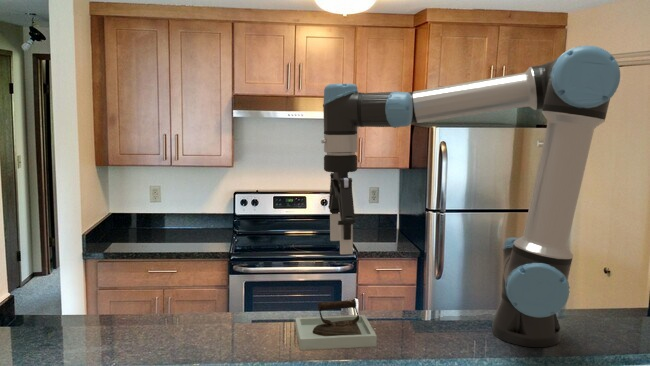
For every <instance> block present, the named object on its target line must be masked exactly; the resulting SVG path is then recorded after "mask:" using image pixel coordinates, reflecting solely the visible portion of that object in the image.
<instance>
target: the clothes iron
mask: <svg viewBox="0 0 650 366" xmlns="http://www.w3.org/2000/svg"><path fill="white" fill-rule="evenodd" d="M317 303H318V304H317V305H318V312H319V317H321V319H322V322H323V323H325V324H321V325H317V326H316V327H315V328H314V329H313V333H314V334H317V335H321V336H341V335H362V334H361V331H360V329H359V327H358V325H357V323H356V322H357V321H358V320H359V315H360V314H359V312H358V309H357V301H356V298H353V299H350V300H347V299H346V300H338V301H337V300H336V301H325V302H324V301H323V302H321V301H318V302H317ZM340 309H341V310H342V309H355V311H356V315H357V317H356V318H355V319H353V320H344V321H336V322H331V321H330V320H325V319H323V318H322V317H323V316H322V315H323V314H322V313H321V312H322V311H328V310H340Z"/></svg>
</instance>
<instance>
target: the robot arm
mask: <svg viewBox="0 0 650 366" xmlns="http://www.w3.org/2000/svg"><path fill="white" fill-rule="evenodd" d="M620 82H621V69H620V66H619V63H618V61H617V60H616V58H615V57H614V56H613V54H612V53H611V52H609V51H608V50H606V49H604V48H602V47H599V46H595V45H581V46H580V45H579V46H574V47H571V48H570V49H567V50H566V51H565V52H563V53H562V54H561V55H559V56H558V58H557V59H554V60H552V61H548V62H547V63H543V64H540V65H534V66H529V67H528V68H527V69H526V71H524V72H521V73H516V74H515V73H514V74H509V75H502V76H498V77H497V76H496V77H491V78H486V79H479V80H473V81H468V82H462V83H456V84H450V85H443V86H440V87H439V86H438V87H433V88H432V87H431V88H426V89H421V90H415V91H409V92H407V91H394V90H393V91H384V92H383V91H382V92H381V91H380V92H379V91H378V92H360V91H359V90H358V86H357V84H355V83H330V84H327V85H326V86H325V87H324V89H323V104H322V107H323V108H322V109H323V110H322V111H323V138H322V139H321V141H320V142H321V144H323V147H324V148H323V152H325V153H326V154H324V156H323V171H324V172H326V173H330V174H329V176H330V184H329V185H330V186H329V198H328V210H329V223H330V224H329V235H330V237H329V240H330V242H339V254H340V255H353V253H354V229H353V228H354V226H353V225H354V224H355V223H356V217H355V205H354V196H353V184H352V183H353V178H352V177H349V173H355V172H357V171H358V156H357V154H356V153H357V152H359V151H358V147H359V146H358V144H359V143H358V140H359V139H358V135H359V134H358V128H359V127H360V128H403V127H404V128H405V127H409V126H410V125H414V124H419V123H425V122H426V123H427V122H433V121H437V120H438V121H441V120H446V119H452V118H459V117H464V116H466V117H467V116H474V115H478V114H479V115H480V114H487V113H492V112H499V111H506V110H512V109H513V110H514V109H520V108H525V107H529V108H531V109H532V110H534V111H536V110H537V111H538V110H541V113H542V115H543V116H544V118H545V120H546V121H547V125H546V128H545V133H544V139H543V142H542V143H543V144H542V146H541V147H542V148H541V150H540V151H541V153H540V157H539V160H538V164H537V165H538V166H537V170H536V174H535V179H534V184H533V187H532V193H531V198H530V201H529V207H528V212H527V215H526V220H525V224H524V229H523V230H524V231H523V235H522V236H521V237H516V236H515V237H507V238H506V239H505V240H504V242H503V247H502V252H503V254H502V255H503V256H502V259H503V260H502V272H501V273H502V277H501V278H502V279H501V299H500V302H499V303H498V307H497V309H496V312H495V315H494V317H493V319H492V322H491V323H492V328H491V331H492V334H493V335H495V337H496V338H498V339H501V340H502V341H504V342H507V343H509V344H513V345H517V346H523V347H528V348H545V347H553V346H556V345H557V344H559V343H560V342H561V341H562V339H561V338H562V337H561V336H562V329H561V325H560V322H559V318H558V315H557V313H559V312H560V311H561V310H562V309H564V307H565V306H566V304H567V302H568V300H569V297H570V283H569V281H568V279H569V275H570V270H571V267H572V262H573V258H574V254H573V253H572V251H571V249H570V248H569V247H568V243H569V238H570V234H571V230H572V226H573V221H574V218H575V212H576V209H577V205H578V200H579V195H580V191H581V188H582V183H583V179H584V174H585V169H586V165H587V161H588V157H589V153H590V149H591V144H592V140H593V136H594V131H595V130H596V128H597V127H599V126H600V125H601V124H604V123H605V122H606V118H607V113H608V109H609V105H610V101H611V99H612V97H613V96H614V95H615V93H617V90H618V88H619V85H620Z"/></svg>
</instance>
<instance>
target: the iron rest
mask: <svg viewBox="0 0 650 366" xmlns="http://www.w3.org/2000/svg"><path fill="white" fill-rule="evenodd" d="M358 315H359V320H358V321H357V322H356V323H357V325H358V327H359V329H360V331H361V334H362V335H341V336H321V335H317V334H314V333H313V329H314V328H315V327H316V326H317V325H321V324H325V323H323V322H322V319H321V317H320V316H307V317H302V316H301V317H295V325H294V326H295V332H296V336H297V342H298V347H299V351H311V350H314V351H315V350H329V349H332V350H333V349H350V348H351V349H352V348H353V349H355V348H373V347H375V348H376V347H377V340H378V339H377V337H378V336H377V333H376V332H375V330H374V328H373V327H372V325H371V323H370V322H369V320H368V318H367V316H366V314H358ZM356 317H357V314H355V315H353V314H352V315H331V316H329V315H328V316H322V318H323V319H325V320H330V321H331V322H336V321H344V320H353V319H355V318H356Z"/></svg>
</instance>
